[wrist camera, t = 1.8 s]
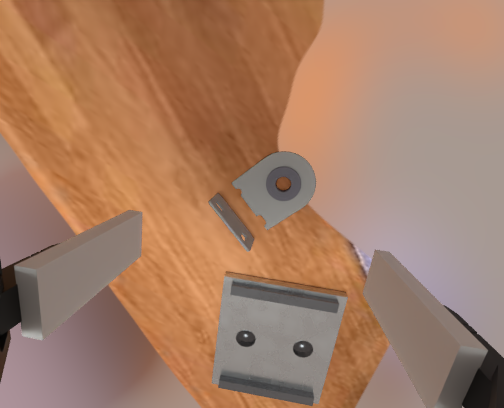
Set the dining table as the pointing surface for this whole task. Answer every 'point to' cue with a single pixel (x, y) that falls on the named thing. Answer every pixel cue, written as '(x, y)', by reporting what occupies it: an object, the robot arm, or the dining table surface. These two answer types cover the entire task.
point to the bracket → (269, 193)
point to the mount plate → (276, 337)
